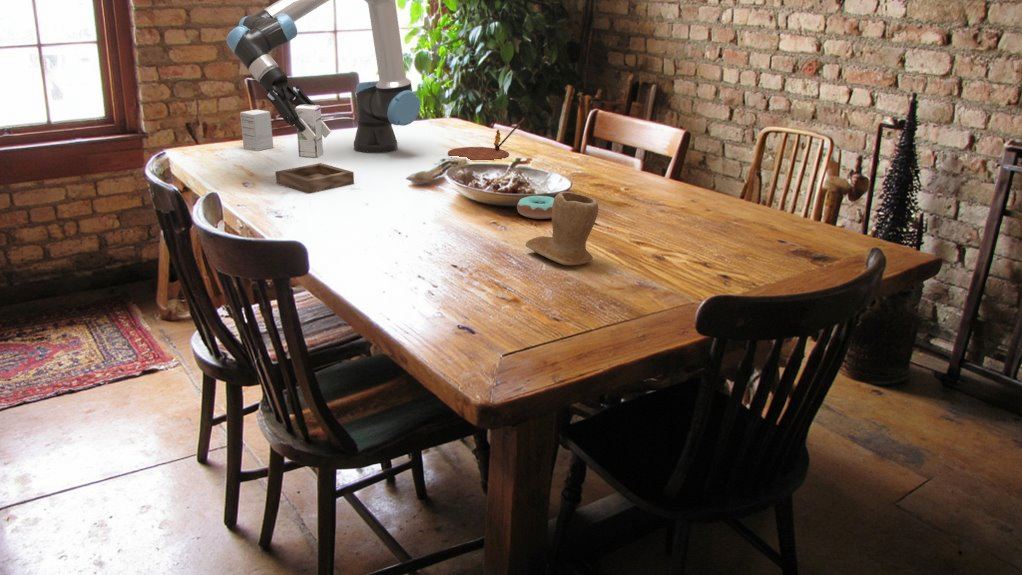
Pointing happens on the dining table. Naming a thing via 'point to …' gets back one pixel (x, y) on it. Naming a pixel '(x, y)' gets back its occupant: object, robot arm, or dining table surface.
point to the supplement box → (256, 130)
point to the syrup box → (313, 120)
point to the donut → (536, 207)
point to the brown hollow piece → (568, 230)
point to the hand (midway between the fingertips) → (320, 136)
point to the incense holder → (483, 150)
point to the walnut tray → (314, 177)
